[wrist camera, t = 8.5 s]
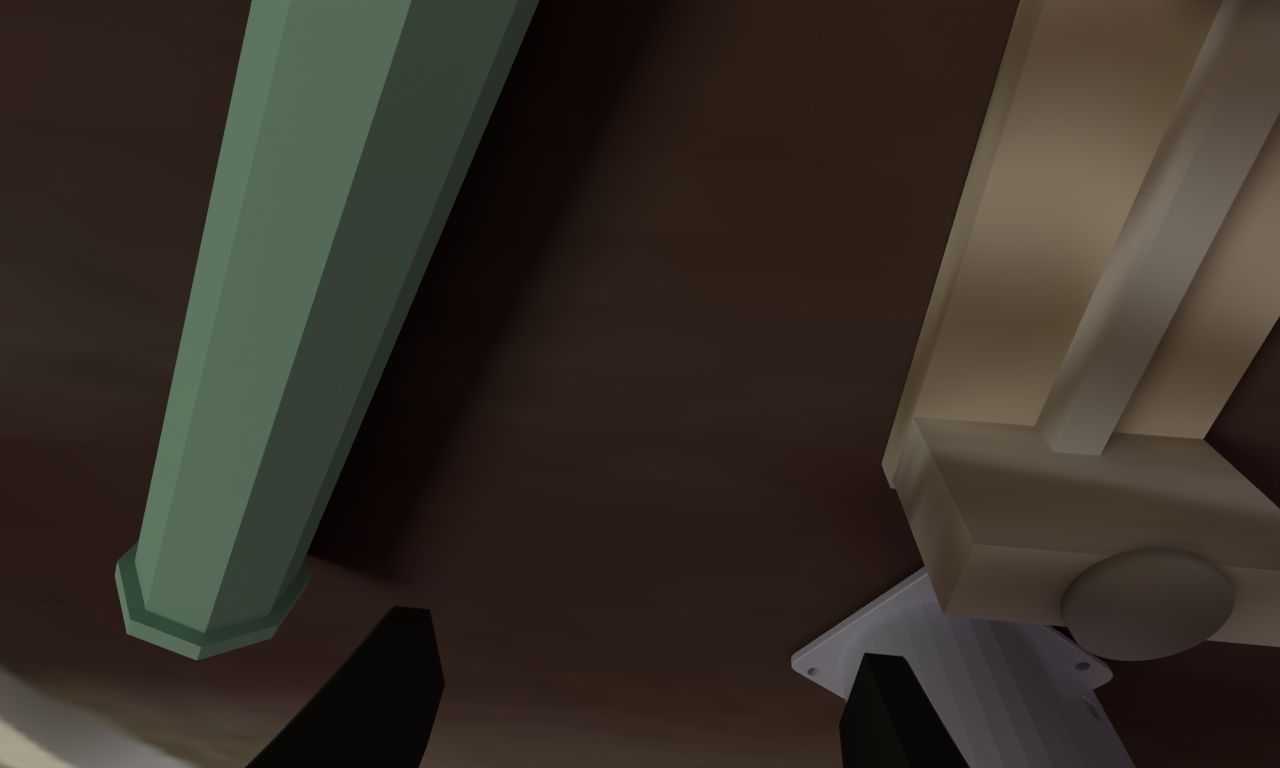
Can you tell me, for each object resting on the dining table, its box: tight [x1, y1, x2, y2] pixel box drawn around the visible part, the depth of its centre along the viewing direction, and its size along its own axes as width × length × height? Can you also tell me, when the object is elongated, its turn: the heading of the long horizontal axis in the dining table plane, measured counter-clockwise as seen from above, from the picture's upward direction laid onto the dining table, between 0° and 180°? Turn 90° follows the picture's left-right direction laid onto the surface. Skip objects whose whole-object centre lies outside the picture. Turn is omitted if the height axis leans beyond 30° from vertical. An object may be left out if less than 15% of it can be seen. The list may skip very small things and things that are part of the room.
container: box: [115, 0, 539, 660], centre depth 17 cm, size 6×6×25 cm
